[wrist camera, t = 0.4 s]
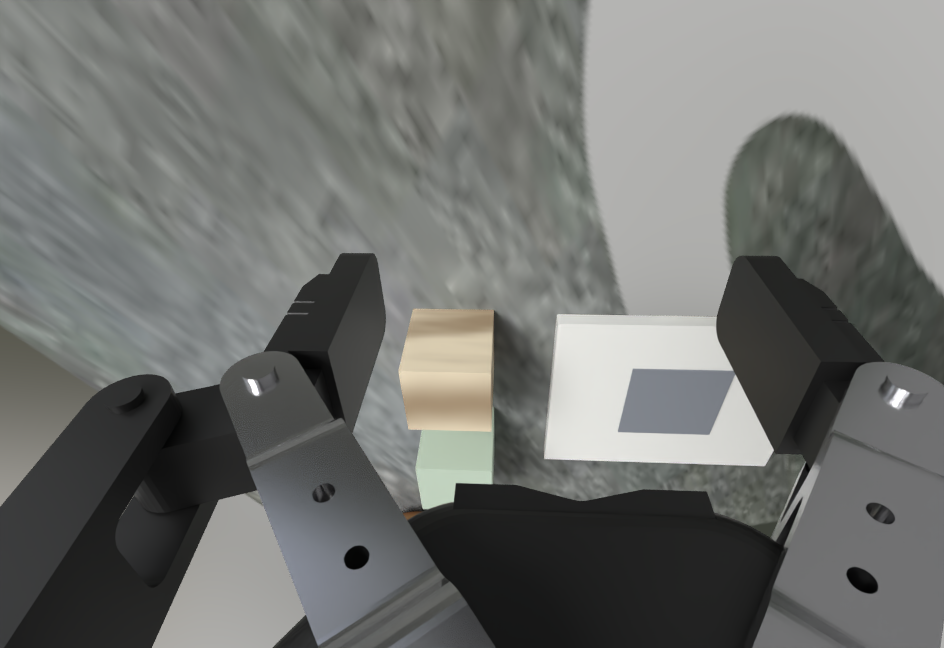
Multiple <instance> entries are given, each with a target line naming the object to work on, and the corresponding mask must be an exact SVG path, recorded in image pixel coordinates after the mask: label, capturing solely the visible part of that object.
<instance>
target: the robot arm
mask: <svg viewBox="0 0 944 648" xmlns="http://www.w3.org/2000/svg"><path fill="white" fill-rule="evenodd" d="M294 301H295V303H293V304H292V305H291V307H290V309H289V310H288V315H285V317H284V319H283V320H282V322H281V324H280V325H279V327H278V329H277V330H276V332H275V334H274V335H273V337H272V339H271V340H270V342H269V344H268V345H267V347H266V349H265V350H264V352H261V353H257V354H254V355H251V356H248V357H246V358H244V359H242V360H240V361H238V362H237V363H235V364H234V365H232V366H231V367H230V368H229V369H228V370H227V371H226V372H225V373H224V375H223V377H222V378H221V381H220V384H218V385H214V386H210V387H205V388H200V389H195V390H190V391H186V392H181V393H176V394H175V392H174V390H173V388H172V386H171V385H170V383H169V381H168V380H167V379H165V378H164V377H161V376H158V375H150V374H146V375H137V376H132V377H129V378H125V379H122V380H120V381H117V382H115V383H113V384H111V385H109V386H107V387H105V388H104V389H102V390H101V391H99V392H98V393H97V394H96V395H94V396H93V397H92V398H91V399H90V400H89V401H88V402H87V403H86V404H85V406H84V407H83V408H82V409H81V410H80V412H79V413H78V414H77V415H76V416H75V418H74V419H73V420H72V421H71V422H70V424H69V425H68V426H67V427H66V429H65V430H64V431H63V432H62V433H61V434H60V436H59V437H58V438H57V439H56V440H55V442H54V443H53V444H52V445H51V446H50V448H49V449H48V450H47V451H46V452H45V454H44V455H43V456H42V457H41V459H40V460H39V461H38V462H37V463H36V465H35V466H34V467H33V468H32V469H31V471H30V472H29V473H28V474H27V475H26V477H25V478H24V479H23V480H22V481H21V483H20V484H19V485H18V486H17V488H16V489H15V490H14V491H13V492H12V493H11V495H10V496H9V497H8V498H7V499H6V501H5V502H4V503H3V504H2V506H1V507H0V648H152V646H153V644H154V642H155V639H156V637H157V635H158V633H159V630H160V628H161V626H162V624H163V622H164V619H165V617H166V615H167V613H168V611H169V608H170V606H171V604H172V602H173V599H174V597H175V595H176V593H177V591H178V588H179V586H180V584H181V582H182V580H183V577H184V575H185V573H186V571H187V569H188V566H189V564H190V562H191V560H192V558H193V555H194V553H195V551H196V549H197V547H198V544H199V542H200V540H201V537H202V535H203V533H204V531H205V529H206V527H207V524H208V522H209V520H210V518H211V516H212V513H213V511H214V509H215V507H216V505H217V502H218V500H219V499H223V498H227V497H231V496H236V495H240V494H244V493H248V492H252V491H256V490H257V491H258V493H259V496H260V498H261V501H262V503H263V506H264V509H265V511H266V514H267V516H268V519H269V521H270V524H271V527H272V529H273V532H274V534H275V537H276V539H277V542H278V545H279V547H280V549H281V552H282V555H283V557H284V560H285V563H286V565H287V568H288V570H289V573H290V575H291V578H292V580H293V583H294V586H295V588H296V591H297V593H298V596H299V598H300V601H301V604H302V606H303V609H304V611H305V614H306V615H305V616H304V617H303V618H302V619H301V620H300V621H299V622H298V623H297V624H296V625H295V626H294V627H293V628H292V629H291V630H290V631H289V632H288V633H287V634H286V635H285V636H284V637H283V638H282V639H281V640H280V641H279V642H278V643H277V644H276V645H275V646H274V647H273V648H940V645H941V638H942V631H943V624H944V386H943V385H942V384H941V383H939V382H938V381H937V380H935V379H933V378H932V377H930V376H928V375H926V374H924V373H922V372H920V371H918V370H915V369H913V368H910V367H907V366H903V365H900V364H895V363H889V362H884V360H883V359H882V358H881V357H880V356H879V355H878V354H877V352H876V351H875V350H874V349H873V348H872V347H871V346H870V344H869V343H868V342H867V341H866V340H865V339H864V338H863V336H862V335H861V334H860V333H859V332H858V331H857V330H856V328H855V327H854V326H853V325H852V324H851V323H848V319H847V318H846V317H845V316H844V315H843V313H842V312H841V311H840V310H837V307H836V305H835V304H834V303H833V302H832V301H831V300H830V299H829V297H828V296H827V295H826V294H825V293H824V292H823V291H821V290H820V289H818V288H816V287H815V286H813V285H812V284H810V283H808V282H807V281H805V280H803V279H797V278H796V276H795V275H794V274H793V273H792V272H791V270H790V269H789V268H788V267H787V265H786V264H785V263H784V262H783V261H782V259H781V258H780V257H778V256H739V257H738V258H737V259H736V260H735V261H734V264H733V266H732V269H731V272H730V275H729V279H728V282H727V285H726V288H725V291H724V295H723V298H722V301H721V304H720V308H719V311H718V315H717V319H716V332H717V338H718V341H719V343H720V345H721V347H722V349H723V351H724V353H725V355H726V357H727V359H728V361H729V363H730V365H731V367H732V369H733V371H734V373H735V375H736V377H737V378H738V380H739V382H740V384H741V386H742V388H743V390H744V392H745V394H746V396H747V398H748V400H749V402H750V404H751V406H752V408H753V410H754V412H755V414H756V416H757V418H758V420H759V422H760V424H761V426H762V428H763V430H764V432H765V434H766V436H767V438H768V440H769V442H770V444H771V445H772V447H773V449H774V451H775V453H776V454H802V455H803V457H804V459H805V461H806V462H805V464H804V466H803V467H802V469H801V471H800V473H799V475H798V477H797V480H796V482H795V484H794V486H793V489H792V491H791V493H790V496H789V498H788V500H787V503H786V505H785V507H784V509H783V512H782V514H781V516H780V519H779V521H778V523H777V526H776V528H775V530H774V532H773V535H772V537H771V538H770V537H768V536H766V535H765V534H763V533H761V532H760V531H758V530H756V529H754V528H752V527H750V526H748V525H746V524H744V523H742V522H740V521H737V520H735V519H732V518H729V517H727V516H724V515H721V514H718V513H714V511H713V508H712V506H711V503H710V500H709V497H708V494H707V492H702V491H673V490H644V489H643V490H638V491H633V492H628V493H623V494H618V495H613V496H608V497H603V498H598V499H593V500H588V501H576V500H571V499H567V498H564V497H560V496H556V495H552V494H548V493H544V492H541V491H537V490H533V489H529V488H525V487H521V486H518V485H500V484H471V483H456V485H455V495H454V502H450V503H445V504H442V505H439V506H436V507H432V508H429V509H427V510H425V511H423V512H421V513H419V514H416V515H415V516H413V517H411V518H410V519H408V520H407V519H406V518H405V516H404V514H403V513H402V511H401V510H400V508H399V507H398V505H397V503H396V502H395V500H394V499H393V497H392V496H391V494H390V492H389V491H388V489H387V488H386V486H385V484H384V483H383V481H382V480H381V478H380V477H379V475H378V473H377V472H376V470H375V469H374V467H373V465H372V464H371V462H370V461H369V459H368V458H367V456H366V454H365V453H364V451H363V450H362V448H361V447H360V445H359V443H358V442H357V440H356V439H355V437H354V435H353V434H352V433H353V429H354V426H355V423H356V420H357V417H358V414H359V411H360V408H361V405H362V402H363V399H364V395H365V392H366V389H367V386H368V383H369V380H370V377H371V374H372V371H373V368H374V364H375V361H376V358H377V355H378V352H379V349H380V346H381V343H382V340H383V337H384V332H385V324H386V314H385V305H384V299H383V293H382V287H381V280H380V274H379V268H378V262H377V258H376V256H375V254H373V253H342V254H340V256H339V257H338V259H337V261H336V263H335V265H334V267H333V268H332V270H331V272H330V274H319V275H317V276H316V277H315V278H313V279H312V280H311V281H309V282H308V283H307V284H305V285H304V286H303V287H302V289H301V290H300V292H299V294H298V295H297V297H296V299H295V300H294ZM133 495H134V497H133ZM132 497H133V498H132ZM131 499H132V500H131ZM130 500H131V501H130ZM129 502H130V503H129ZM128 504H129V505H128ZM127 505H128V506H127ZM126 507H127V508H126ZM125 509H126V510H125ZM124 510H125V511H124ZM123 512H124V513H123ZM122 513H123V514H122ZM121 515H122V516H121ZM120 517H121V518H120Z"/></svg>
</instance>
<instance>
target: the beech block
mask: <svg viewBox="0 0 944 648" xmlns="http://www.w3.org/2000/svg"><path fill="white" fill-rule="evenodd" d="M399 377H400V383H401V388H402V394H403V400H404V405H405V411H406V417H407V423H408V428H409V429H415V430H449V431H482V432H491V430H492V406H493V381H494V310H461V309H413V312H412V316H411V320H410V324H409V329H408V333H407V337H406V341H405V346H404V350H403V354H402V358H401V363H400V367H399Z"/></svg>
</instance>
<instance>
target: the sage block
mask: <svg viewBox="0 0 944 648" xmlns="http://www.w3.org/2000/svg"><path fill="white" fill-rule="evenodd" d="M416 474H417V480H418V486H419V491H420V497H421V503H422V508H423V509H429V508H432V507H436V506H439V505H442V504H445V503H450V502H454V495H455V485H456V483H471V484H493V476H494V407H492V430H491V432H482V431H449V430H422V433H421V439H420V445H419V451H418V457H417V463H416Z"/></svg>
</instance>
